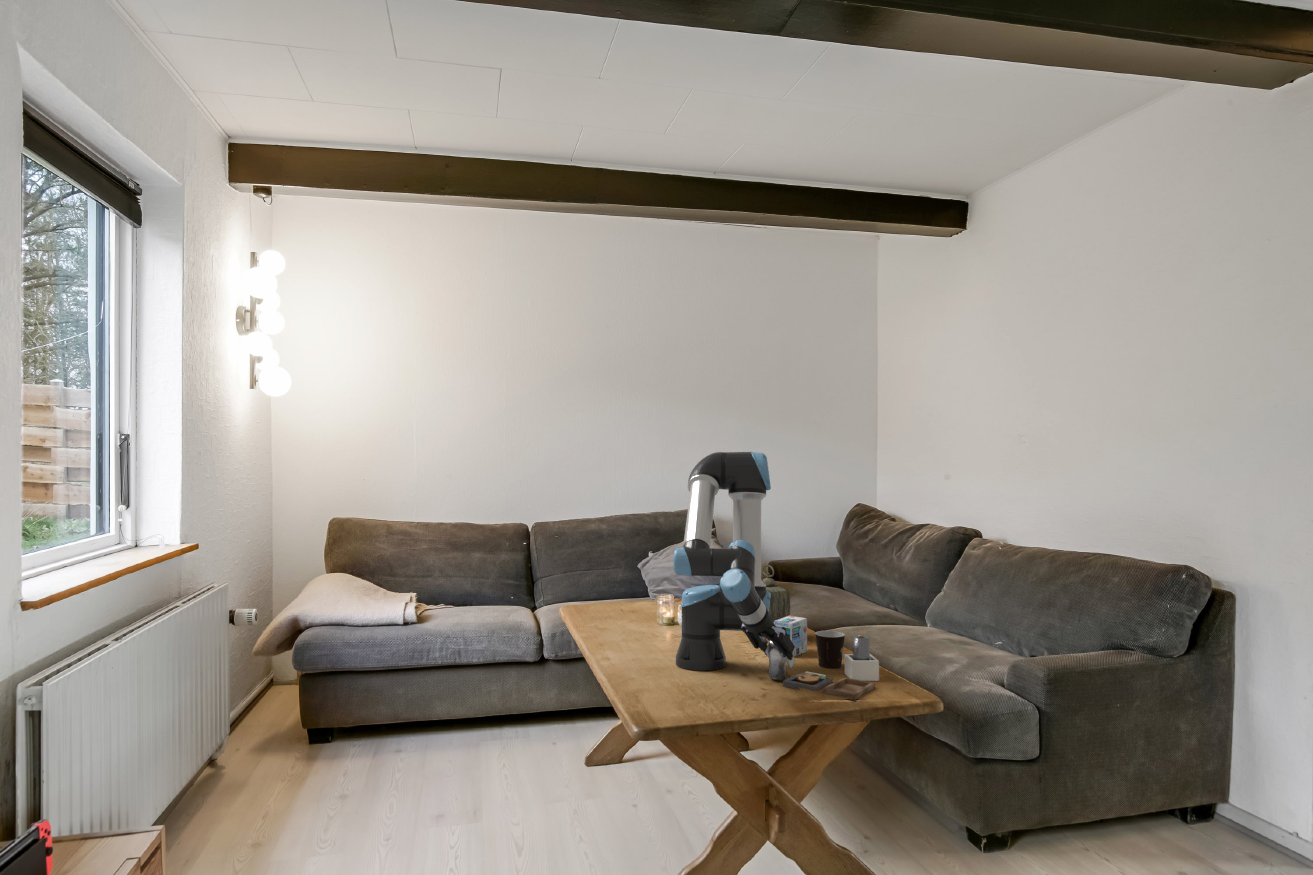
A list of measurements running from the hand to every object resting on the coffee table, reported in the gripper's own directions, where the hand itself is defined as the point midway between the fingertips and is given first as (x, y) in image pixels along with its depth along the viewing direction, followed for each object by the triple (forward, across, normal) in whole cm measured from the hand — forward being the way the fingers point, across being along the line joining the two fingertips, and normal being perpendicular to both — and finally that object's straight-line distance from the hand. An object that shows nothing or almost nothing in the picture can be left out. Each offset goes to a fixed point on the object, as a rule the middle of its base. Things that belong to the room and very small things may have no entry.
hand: (783, 662), depth 226 cm
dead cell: (+11, +18, +6) cm, 22 cm away
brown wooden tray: (+1, +21, -4) cm, 21 cm away
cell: (0, 0, -5) cm, 5 cm away
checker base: (+1, +9, -5) cm, 10 cm away
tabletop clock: (+32, -28, +25) cm, 50 cm away
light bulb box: (+22, -12, +15) cm, 29 cm away
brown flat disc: (0, +9, -4) cm, 10 cm away
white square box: (+11, +18, +6) cm, 22 cm away
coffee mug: (+14, +6, +8) cm, 17 cm away
